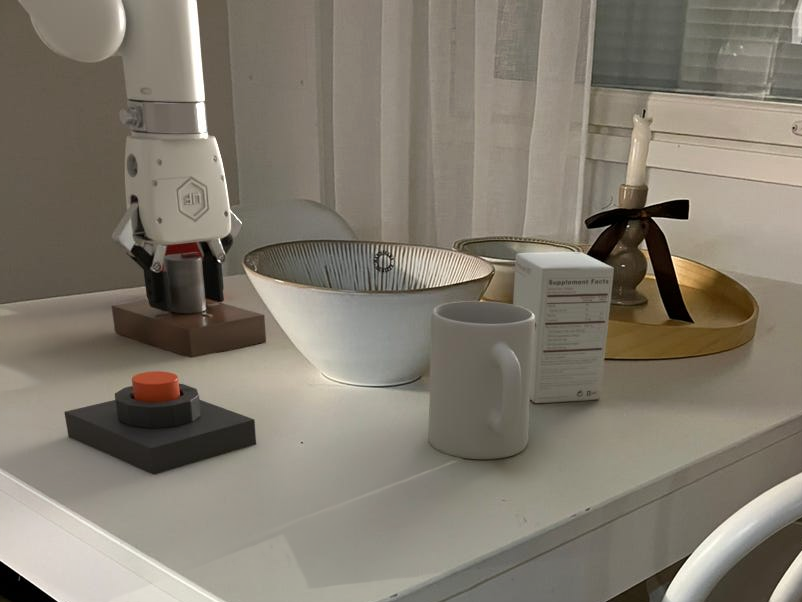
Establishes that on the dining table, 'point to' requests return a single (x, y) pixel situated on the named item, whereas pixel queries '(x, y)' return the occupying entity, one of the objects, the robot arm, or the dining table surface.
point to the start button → (155, 386)
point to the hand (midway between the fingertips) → (187, 302)
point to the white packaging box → (565, 322)
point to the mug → (480, 378)
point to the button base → (160, 430)
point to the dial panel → (190, 327)
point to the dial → (185, 282)
